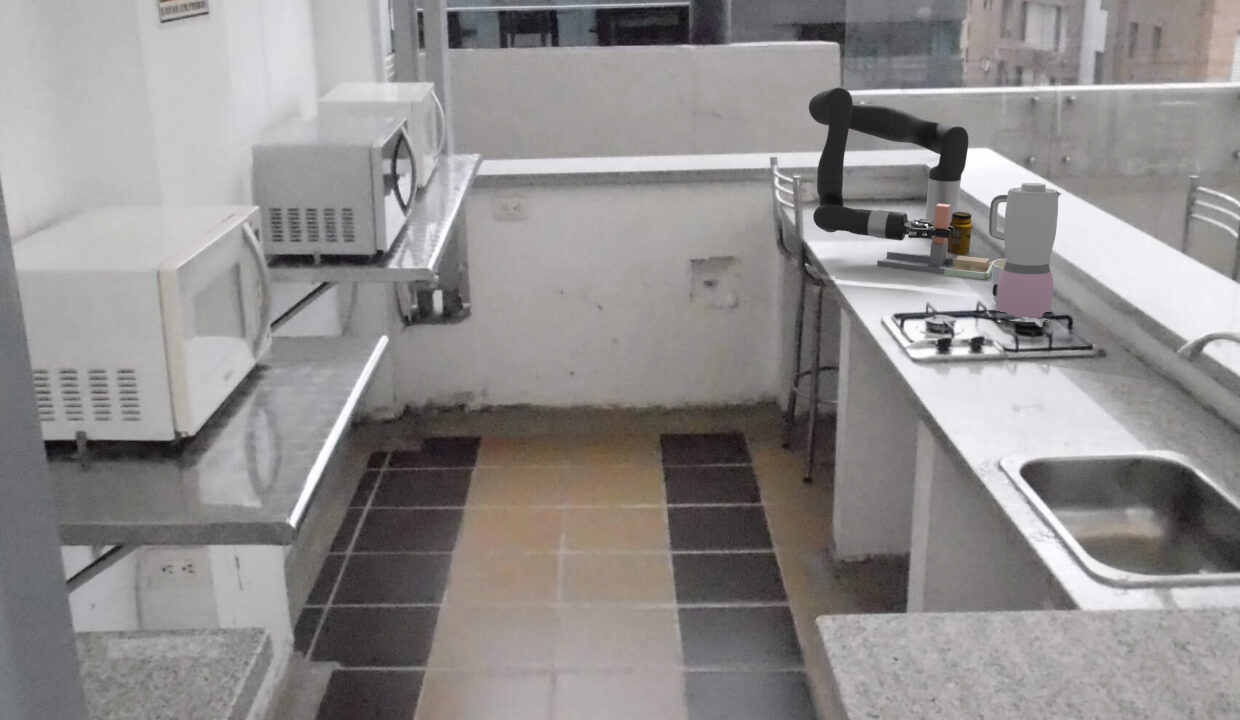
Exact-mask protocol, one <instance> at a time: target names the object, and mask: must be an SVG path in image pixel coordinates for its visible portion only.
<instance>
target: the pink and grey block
mask: <svg viewBox="0 0 1240 720" xmlns="http://www.w3.org/2000/svg"><path fill="white" fill-rule="evenodd" d="M950 208H951V205H949V204H937V205H936V211H935V221H934V227H935V228H941V229H948V226H949V217H950ZM931 239H932V240H931V241H932V243H931V244H930V253H929V255H930V260H929V265H930V266H939V267H941V266H942V265H943V264H944V263H945V260H946V257H947V246H948V238H943V237H936V236H935V237H932V238H931Z"/></svg>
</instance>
